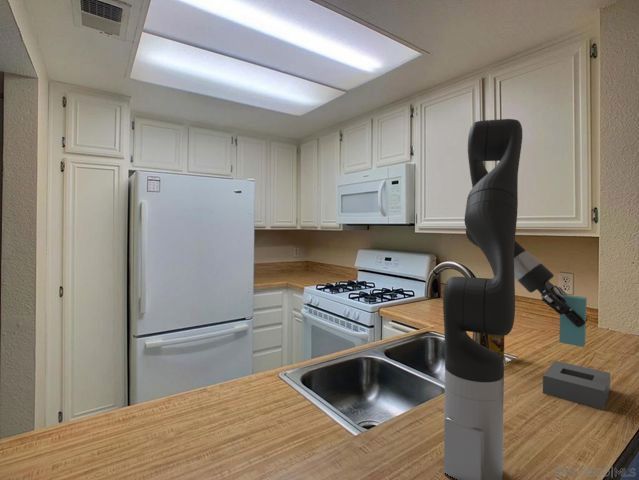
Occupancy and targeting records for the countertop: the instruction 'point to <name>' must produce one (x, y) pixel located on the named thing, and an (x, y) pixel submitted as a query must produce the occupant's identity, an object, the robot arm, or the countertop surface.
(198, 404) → the countertop surface
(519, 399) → the countertop surface
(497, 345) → the condiment
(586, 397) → the gray slotted block
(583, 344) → the teal rectangular block
